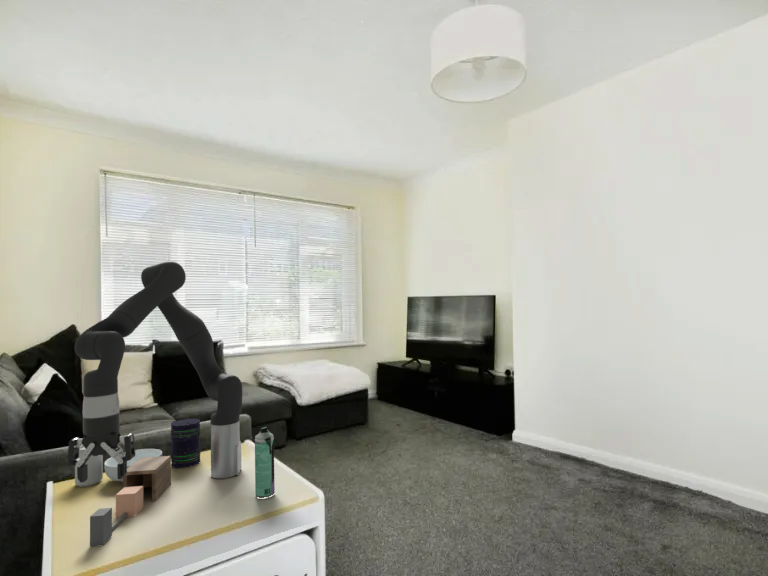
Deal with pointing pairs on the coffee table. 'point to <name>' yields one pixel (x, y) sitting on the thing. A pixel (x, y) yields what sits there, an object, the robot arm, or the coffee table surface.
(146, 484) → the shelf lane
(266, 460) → the spray can
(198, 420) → the storage jar
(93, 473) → the can
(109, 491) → the coffee table surface
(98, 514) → the block with cord
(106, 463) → the cereal bowl
